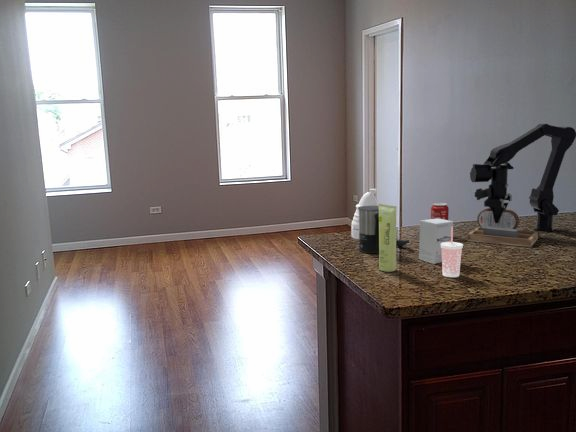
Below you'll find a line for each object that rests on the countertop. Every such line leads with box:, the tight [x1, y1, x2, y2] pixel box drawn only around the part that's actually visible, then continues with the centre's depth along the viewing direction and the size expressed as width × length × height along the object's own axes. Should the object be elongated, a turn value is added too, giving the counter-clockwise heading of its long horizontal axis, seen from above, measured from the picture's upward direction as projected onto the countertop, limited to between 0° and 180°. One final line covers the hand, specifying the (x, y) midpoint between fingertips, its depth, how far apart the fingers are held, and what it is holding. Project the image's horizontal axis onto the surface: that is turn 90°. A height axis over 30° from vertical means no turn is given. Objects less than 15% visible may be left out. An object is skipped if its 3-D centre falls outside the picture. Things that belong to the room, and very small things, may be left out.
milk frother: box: [358, 206, 410, 254], centre depth 196 cm, size 14×16×15 cm
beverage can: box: [430, 202, 450, 220], centre depth 216 cm, size 6×6×12 cm
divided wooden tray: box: [467, 226, 539, 248], centre depth 207 cm, size 14×21×2 cm
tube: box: [378, 203, 397, 273], centre depth 171 cm, size 6×5×20 cm
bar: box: [483, 226, 520, 238], centre depth 205 cm, size 11×4×4 cm, turn 53°
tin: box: [476, 207, 520, 229], centre depth 221 cm, size 15×3×8 cm, turn 58°
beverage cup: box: [441, 226, 464, 278], centre depth 165 cm, size 6×6×14 cm
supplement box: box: [418, 218, 454, 265], centre depth 181 cm, size 7×7×13 cm
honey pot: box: [350, 188, 380, 240], centre depth 217 cm, size 13×13×18 cm
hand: (497, 222), depth 221 cm, fingers open, 2 cm apart
